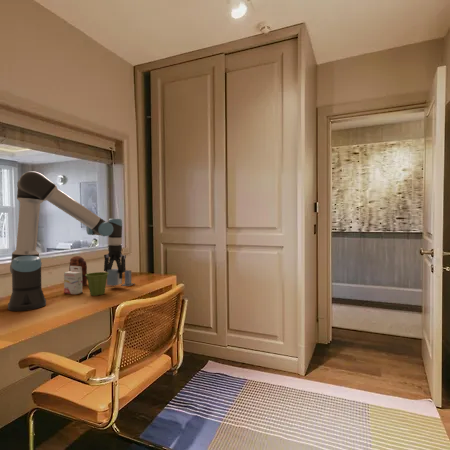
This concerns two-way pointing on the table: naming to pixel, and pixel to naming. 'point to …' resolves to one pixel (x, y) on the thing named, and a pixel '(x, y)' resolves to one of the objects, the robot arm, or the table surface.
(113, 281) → the grey upright block
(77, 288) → the ink cartridge box
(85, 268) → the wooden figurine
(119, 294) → the table surface
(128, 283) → the post
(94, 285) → the plant pot
